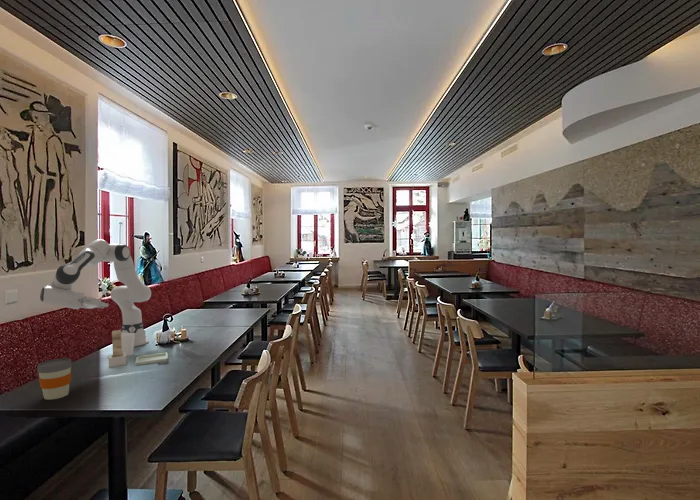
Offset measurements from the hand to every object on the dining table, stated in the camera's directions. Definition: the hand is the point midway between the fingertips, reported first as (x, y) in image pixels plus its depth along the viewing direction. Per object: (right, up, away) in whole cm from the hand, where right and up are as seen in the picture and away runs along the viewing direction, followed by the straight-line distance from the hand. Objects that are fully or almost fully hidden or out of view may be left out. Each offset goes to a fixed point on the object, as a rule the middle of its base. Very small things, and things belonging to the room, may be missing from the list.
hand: (106, 306), depth 227 cm
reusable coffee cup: (+2, -34, -42) cm, 54 cm away
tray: (+22, -32, +7) cm, 39 cm away
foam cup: (+1, -33, +19) cm, 38 cm away
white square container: (+6, -33, +1) cm, 33 cm away
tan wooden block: (+6, -32, +1) cm, 32 cm away
